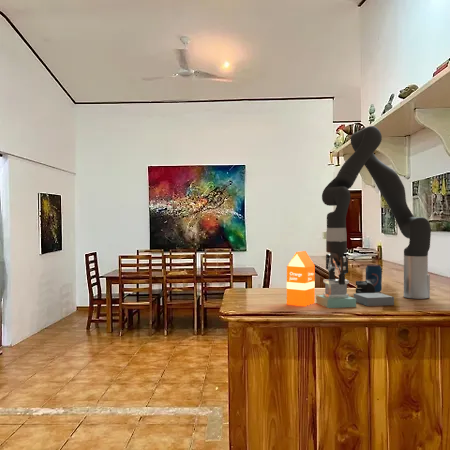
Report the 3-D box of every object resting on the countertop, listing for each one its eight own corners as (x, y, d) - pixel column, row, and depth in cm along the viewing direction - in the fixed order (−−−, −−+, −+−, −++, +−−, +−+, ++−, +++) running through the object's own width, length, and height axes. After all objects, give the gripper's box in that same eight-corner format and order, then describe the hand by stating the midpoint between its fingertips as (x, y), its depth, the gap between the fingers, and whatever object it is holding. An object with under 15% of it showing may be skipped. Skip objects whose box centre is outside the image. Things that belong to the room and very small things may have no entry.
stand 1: (342, 301, 188) (342, 294, 188) (356, 306, 178) (356, 298, 177) (316, 302, 186) (316, 295, 186) (328, 307, 175) (328, 299, 175)
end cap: (375, 299, 195) (375, 282, 195) (357, 298, 196) (357, 282, 196) (372, 295, 205) (372, 279, 205) (355, 295, 206) (355, 279, 206)
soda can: (363, 292, 214) (364, 265, 214) (367, 290, 220) (367, 263, 220) (380, 293, 211) (380, 265, 211) (383, 291, 217) (383, 264, 217)
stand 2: (379, 300, 193) (379, 292, 192) (394, 304, 182) (394, 297, 182) (353, 301, 190) (353, 293, 190) (367, 305, 180) (367, 297, 179)
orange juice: (286, 304, 183) (286, 251, 183) (296, 301, 190) (296, 250, 190) (305, 306, 178) (305, 252, 178) (315, 303, 186) (315, 251, 186)
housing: (328, 298, 179) (328, 280, 179) (323, 296, 183) (323, 279, 183) (348, 297, 180) (348, 280, 180) (342, 295, 185) (342, 278, 185)
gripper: (319, 239, 187) (319, 281, 188) (335, 240, 174) (335, 285, 174) (337, 239, 189) (337, 280, 189) (354, 240, 175) (354, 285, 175)
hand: (336, 283), depth 182 cm, fingers open, 8 cm apart
